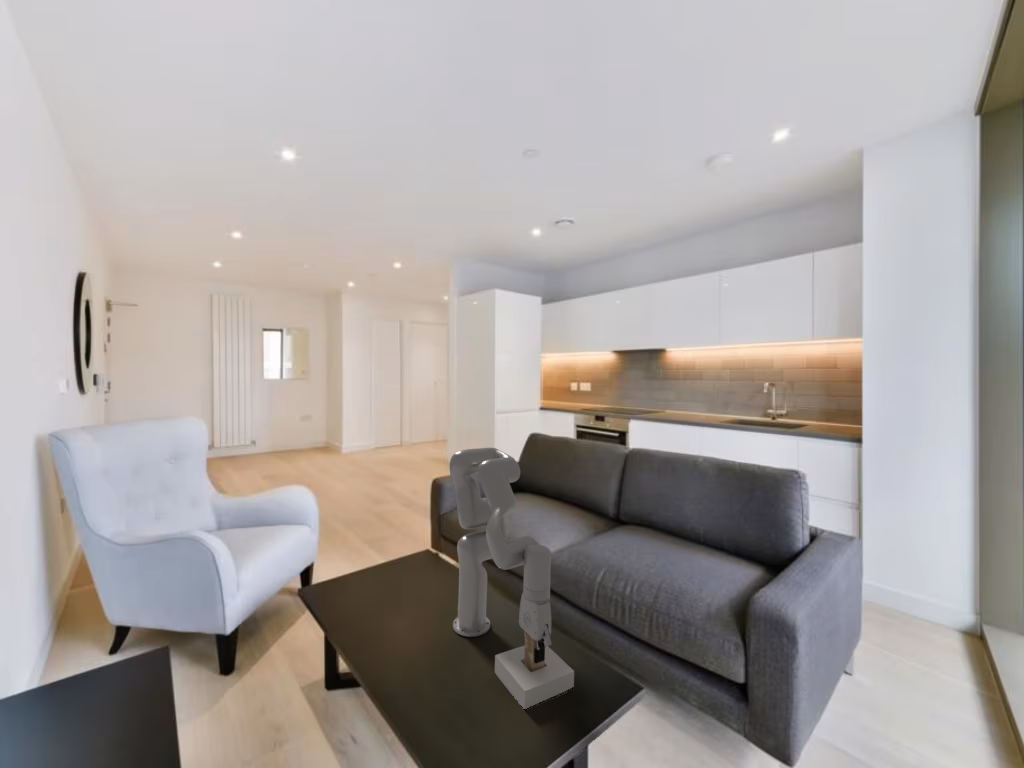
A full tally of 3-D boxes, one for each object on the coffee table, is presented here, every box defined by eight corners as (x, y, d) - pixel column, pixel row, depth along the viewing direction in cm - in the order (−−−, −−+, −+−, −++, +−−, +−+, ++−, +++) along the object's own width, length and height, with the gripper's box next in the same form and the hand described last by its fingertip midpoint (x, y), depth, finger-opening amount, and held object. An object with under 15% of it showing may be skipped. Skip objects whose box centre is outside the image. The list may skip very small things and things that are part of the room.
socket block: (494, 672, 124) (495, 655, 124) (540, 655, 132) (541, 639, 132) (524, 710, 110) (524, 691, 110) (573, 689, 118) (574, 671, 118)
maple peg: (524, 665, 122) (525, 630, 122) (536, 661, 124) (537, 626, 124) (532, 674, 118) (533, 637, 118) (544, 669, 120) (545, 633, 120)
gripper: (509, 582, 126) (508, 644, 126) (542, 609, 112) (540, 679, 112) (531, 576, 130) (529, 637, 130) (565, 602, 115) (563, 670, 116)
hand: (534, 656), depth 121 cm, fingers closed on maple peg, 4 cm apart
